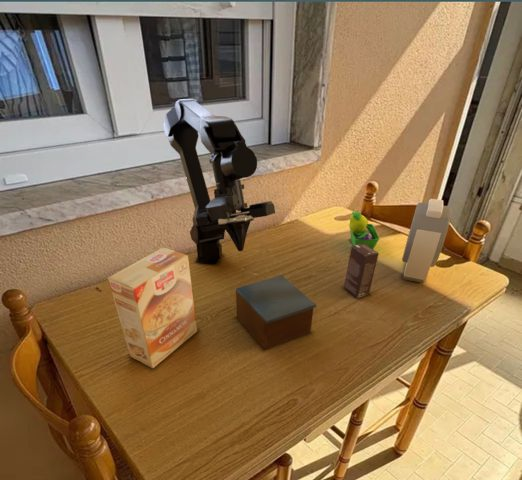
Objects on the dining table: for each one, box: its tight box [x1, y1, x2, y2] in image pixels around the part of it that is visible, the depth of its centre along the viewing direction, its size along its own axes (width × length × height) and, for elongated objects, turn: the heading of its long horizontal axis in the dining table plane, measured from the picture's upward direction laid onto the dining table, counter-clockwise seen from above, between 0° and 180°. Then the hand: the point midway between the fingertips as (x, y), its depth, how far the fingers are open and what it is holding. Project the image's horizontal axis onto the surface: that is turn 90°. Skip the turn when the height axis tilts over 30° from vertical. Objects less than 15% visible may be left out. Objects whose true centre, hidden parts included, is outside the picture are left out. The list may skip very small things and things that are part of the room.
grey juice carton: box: [401, 198, 453, 284], centre depth 103 cm, size 18×8×20 cm, turn 158°
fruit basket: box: [348, 211, 380, 250], centre depth 118 cm, size 11×9×11 cm
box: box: [343, 244, 380, 299], centre depth 98 cm, size 6×4×12 cm
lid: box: [235, 274, 317, 324], centre depth 85 cm, size 14×12×1 cm
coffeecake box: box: [107, 246, 198, 369], centre depth 78 cm, size 15×7×20 cm, turn 148°
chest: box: [235, 290, 314, 350], centre depth 88 cm, size 13×12×8 cm
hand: (240, 250), depth 93 cm, fingers closed
